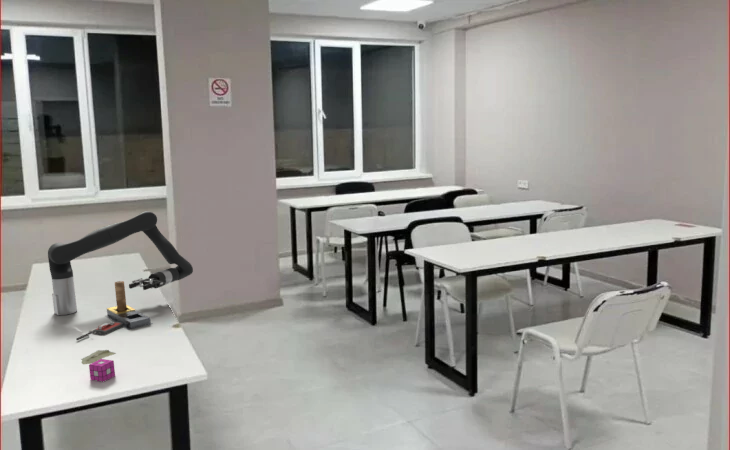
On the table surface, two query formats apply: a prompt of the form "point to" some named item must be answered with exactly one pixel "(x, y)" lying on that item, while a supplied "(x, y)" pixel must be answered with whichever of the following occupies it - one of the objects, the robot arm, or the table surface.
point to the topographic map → (96, 356)
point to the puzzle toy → (102, 370)
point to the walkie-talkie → (103, 329)
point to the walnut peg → (120, 296)
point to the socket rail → (128, 317)
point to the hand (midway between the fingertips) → (136, 287)
